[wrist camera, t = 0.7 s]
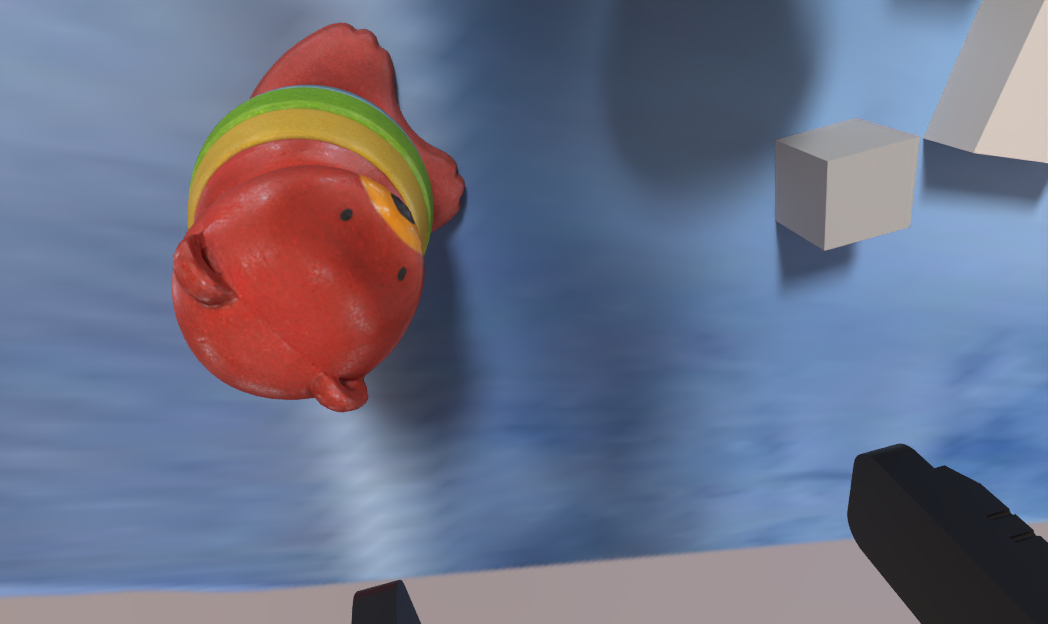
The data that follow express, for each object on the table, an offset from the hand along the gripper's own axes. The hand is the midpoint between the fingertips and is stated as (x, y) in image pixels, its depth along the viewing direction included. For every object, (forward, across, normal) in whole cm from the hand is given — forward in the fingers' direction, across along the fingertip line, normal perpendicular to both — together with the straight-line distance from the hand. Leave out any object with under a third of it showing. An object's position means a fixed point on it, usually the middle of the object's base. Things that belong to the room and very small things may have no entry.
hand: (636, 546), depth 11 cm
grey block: (+26, -20, +5) cm, 33 cm away
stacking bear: (+26, +7, -1) cm, 27 cm away
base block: (+26, -32, +2) cm, 41 cm away
